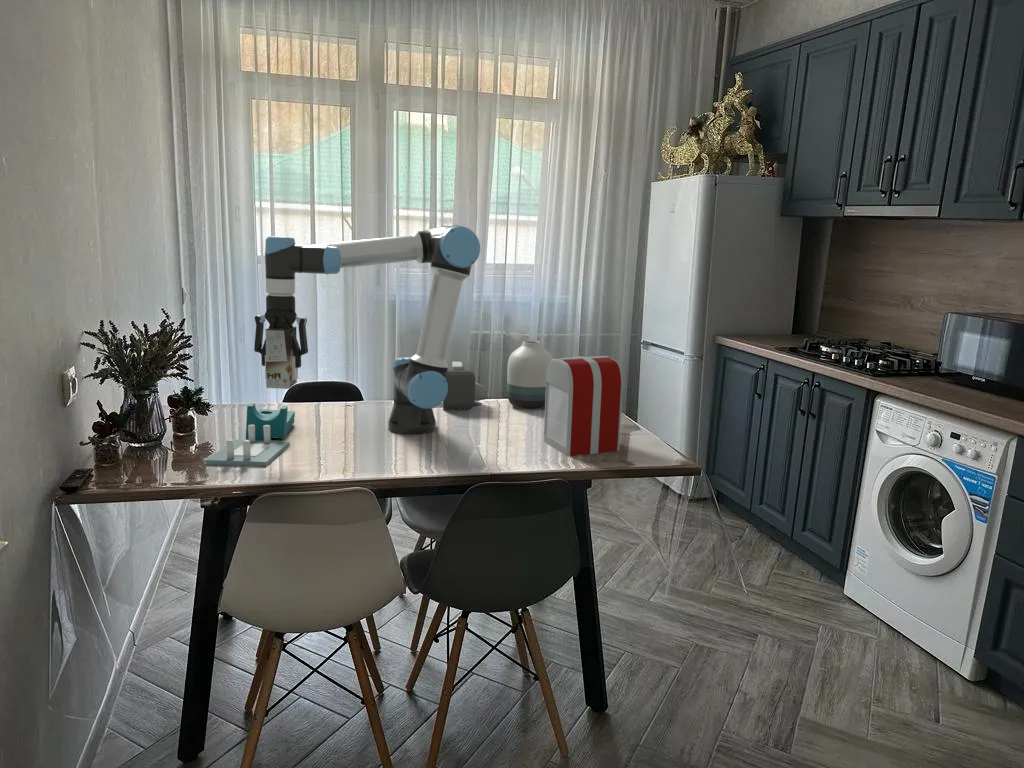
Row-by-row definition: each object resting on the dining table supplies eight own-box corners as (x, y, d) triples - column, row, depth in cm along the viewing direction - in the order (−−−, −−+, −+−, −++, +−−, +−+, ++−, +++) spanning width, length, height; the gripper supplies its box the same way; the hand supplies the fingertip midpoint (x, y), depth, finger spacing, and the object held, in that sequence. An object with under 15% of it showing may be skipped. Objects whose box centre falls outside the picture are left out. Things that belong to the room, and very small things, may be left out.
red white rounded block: (542, 440, 214) (545, 354, 209) (592, 436, 221) (597, 351, 215) (567, 456, 199) (571, 363, 194) (620, 450, 206) (626, 360, 201)
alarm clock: (442, 400, 263) (442, 359, 260) (472, 400, 264) (473, 360, 261) (443, 411, 247) (443, 368, 244) (475, 411, 248) (475, 368, 245)
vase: (553, 412, 249) (556, 346, 244) (505, 411, 249) (507, 344, 244) (551, 401, 266) (553, 339, 261) (507, 400, 266) (508, 338, 261)
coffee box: (290, 389, 189) (289, 330, 186) (265, 388, 188) (264, 329, 185) (297, 382, 198) (296, 326, 195) (274, 381, 197) (273, 325, 194)
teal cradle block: (283, 442, 207) (285, 408, 205) (245, 440, 205) (247, 405, 203) (293, 426, 225) (295, 395, 223) (259, 424, 223) (260, 392, 221)
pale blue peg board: (290, 445, 203) (289, 424, 201) (266, 466, 184) (265, 443, 183) (235, 443, 203) (233, 422, 202) (206, 464, 184) (204, 441, 183)
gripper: (320, 295, 192) (321, 377, 196) (249, 291, 192) (251, 374, 196) (312, 297, 185) (313, 383, 189) (238, 293, 185) (240, 379, 189)
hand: (281, 378), depth 193 cm, fingers closed on coffee box, 7 cm apart
